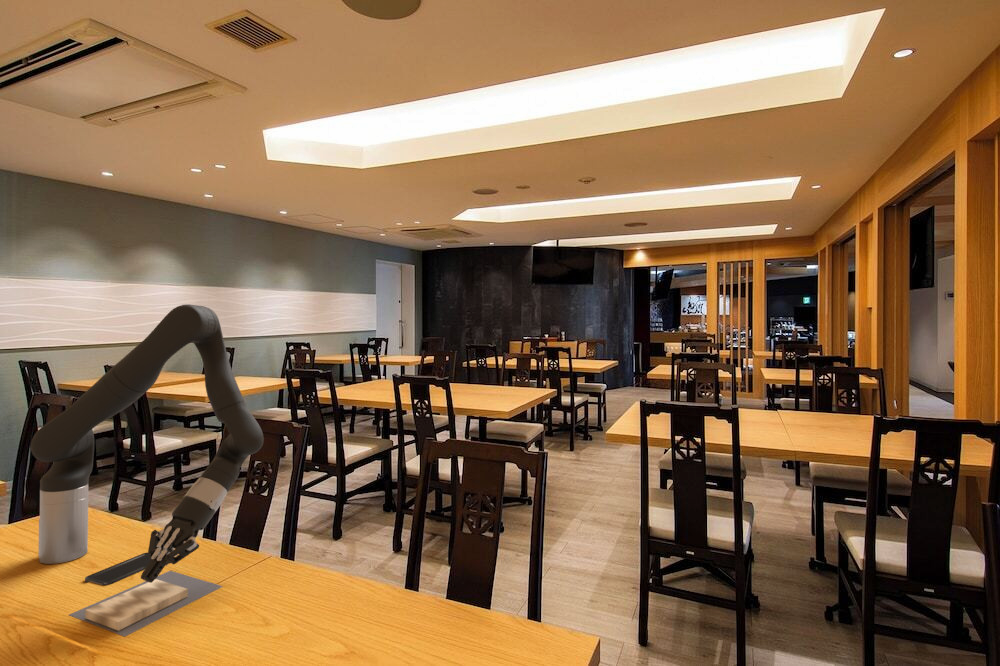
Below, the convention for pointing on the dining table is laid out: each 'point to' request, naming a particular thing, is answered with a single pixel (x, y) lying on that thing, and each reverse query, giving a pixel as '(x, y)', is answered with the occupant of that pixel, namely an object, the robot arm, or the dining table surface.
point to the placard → (136, 604)
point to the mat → (195, 592)
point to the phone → (120, 570)
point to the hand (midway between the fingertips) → (145, 580)
